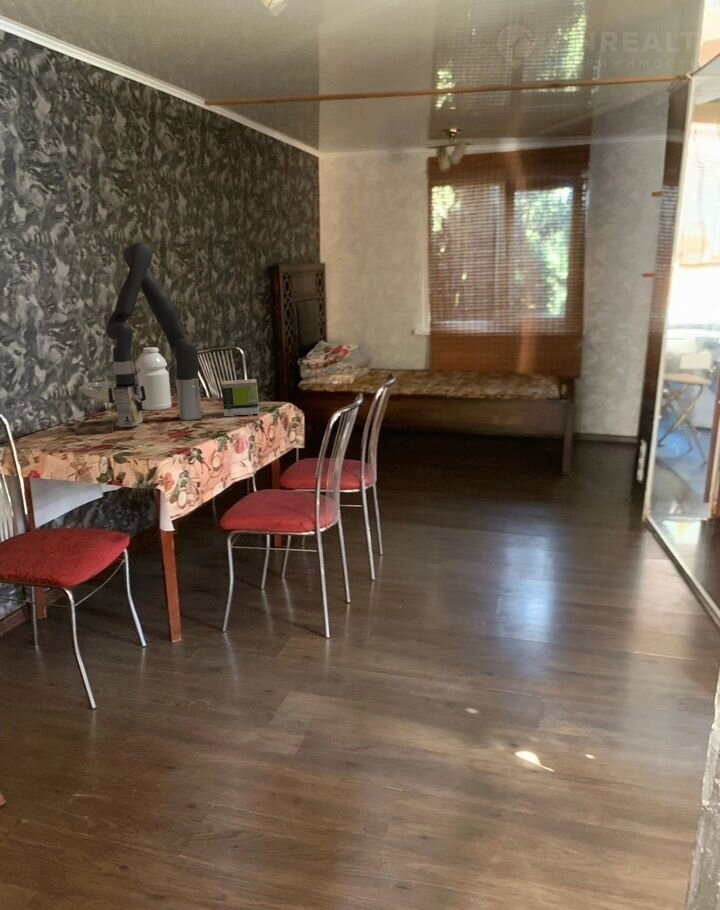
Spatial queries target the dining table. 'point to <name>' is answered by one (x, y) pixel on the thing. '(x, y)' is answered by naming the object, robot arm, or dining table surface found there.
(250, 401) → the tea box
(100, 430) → the walnut tray
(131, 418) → the coffee box
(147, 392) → the bottle
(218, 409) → the dining table surface
